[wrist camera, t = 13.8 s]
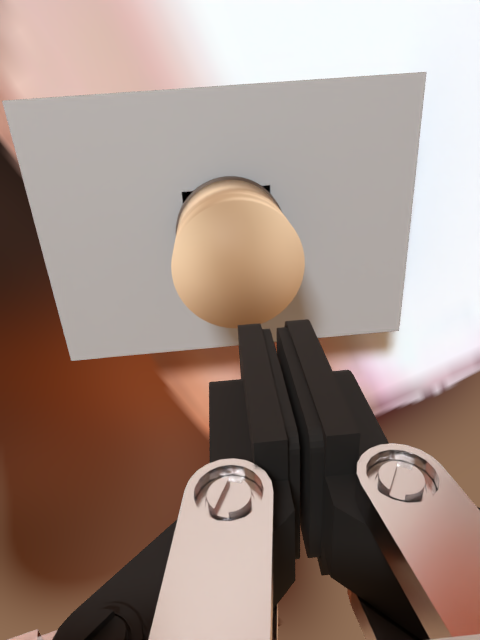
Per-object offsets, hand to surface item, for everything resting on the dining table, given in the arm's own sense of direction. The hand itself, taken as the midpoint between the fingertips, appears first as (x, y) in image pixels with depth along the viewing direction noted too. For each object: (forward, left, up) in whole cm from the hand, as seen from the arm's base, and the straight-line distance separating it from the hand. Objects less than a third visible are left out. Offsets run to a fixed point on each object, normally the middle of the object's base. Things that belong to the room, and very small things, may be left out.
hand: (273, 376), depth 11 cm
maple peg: (0, 0, -18) cm, 18 cm away
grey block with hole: (0, 0, -19) cm, 19 cm away
